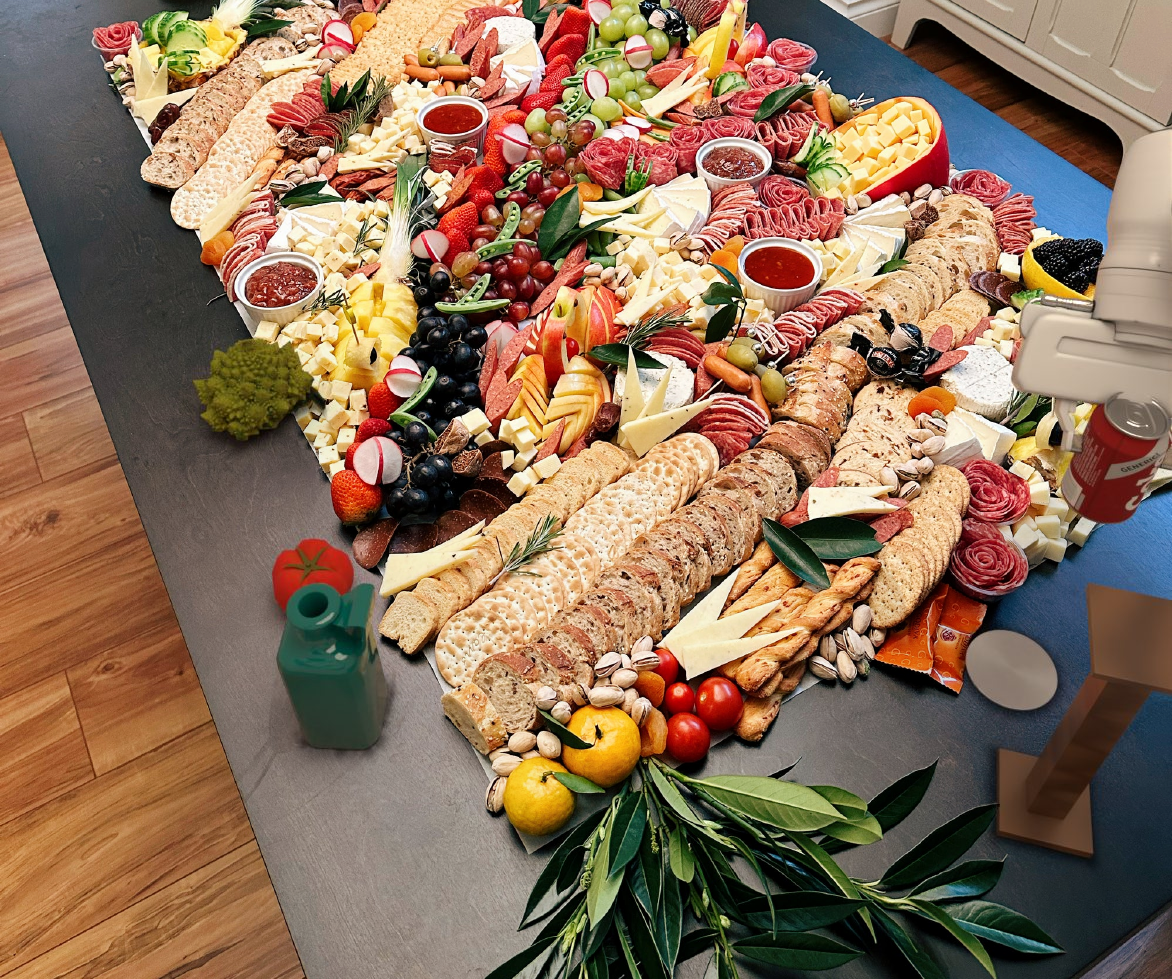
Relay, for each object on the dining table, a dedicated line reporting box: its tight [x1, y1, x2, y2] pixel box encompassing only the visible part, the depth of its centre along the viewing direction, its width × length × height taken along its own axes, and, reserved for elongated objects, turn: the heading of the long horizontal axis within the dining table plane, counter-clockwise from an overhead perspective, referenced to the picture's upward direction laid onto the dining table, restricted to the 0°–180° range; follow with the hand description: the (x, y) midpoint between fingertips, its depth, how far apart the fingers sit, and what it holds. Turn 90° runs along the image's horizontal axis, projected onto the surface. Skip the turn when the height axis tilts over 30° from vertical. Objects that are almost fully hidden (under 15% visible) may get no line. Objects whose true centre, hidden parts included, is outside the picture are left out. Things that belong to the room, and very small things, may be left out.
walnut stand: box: [996, 582, 1172, 859], centre depth 105 cm, size 9×9×32 cm
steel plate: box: [964, 629, 1059, 712], centre depth 127 cm, size 10×10×1 cm
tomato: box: [271, 537, 355, 614], centre depth 132 cm, size 9×9×8 cm
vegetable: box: [192, 337, 328, 442], centre depth 153 cm, size 15×16×15 cm
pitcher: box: [275, 582, 389, 750], centre depth 116 cm, size 10×8×22 cm
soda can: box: [1060, 392, 1172, 525], centre depth 101 cm, size 7×7×12 cm
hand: (1118, 461), depth 100 cm, fingers closed on soda can, 7 cm apart
